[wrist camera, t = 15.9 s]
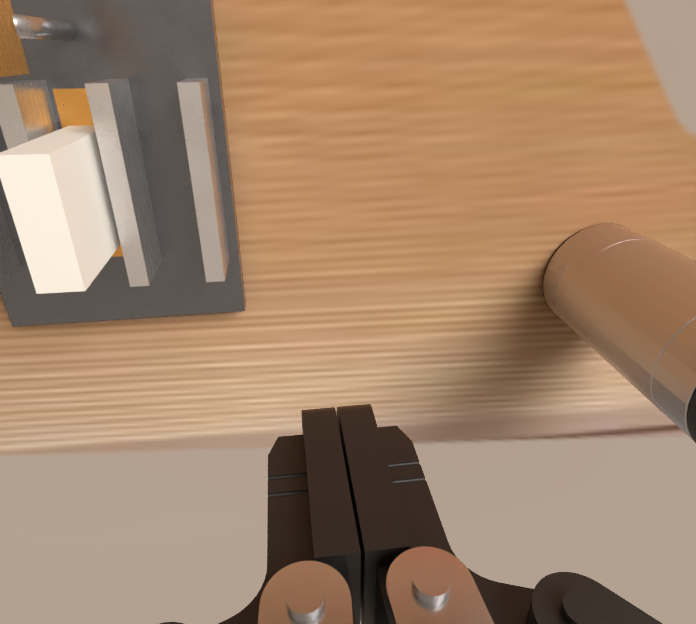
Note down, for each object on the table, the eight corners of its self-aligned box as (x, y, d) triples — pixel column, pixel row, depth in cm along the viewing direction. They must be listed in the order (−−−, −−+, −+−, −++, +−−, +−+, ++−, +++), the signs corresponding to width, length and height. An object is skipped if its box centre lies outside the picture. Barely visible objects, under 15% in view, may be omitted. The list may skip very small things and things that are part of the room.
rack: (212, -6, 31) (182, -36, 20) (245, 302, 41) (238, 394, 30) (-92, -9, 29) (-308, -43, 18) (21, 317, 39) (-75, 422, 28)
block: (108, 125, 32) (48, 154, 23) (130, 230, 35) (85, 291, 27) (68, 125, 32) (-7, 155, 23) (94, 232, 35) (36, 293, 26)
